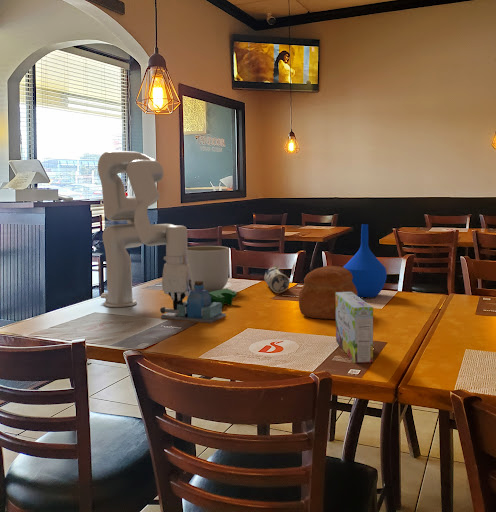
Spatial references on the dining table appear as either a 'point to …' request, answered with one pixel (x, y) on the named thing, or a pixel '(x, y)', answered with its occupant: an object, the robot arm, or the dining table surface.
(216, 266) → the planter
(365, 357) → the snack box
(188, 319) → the vise bed
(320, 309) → the bread
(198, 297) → the perfume bottle
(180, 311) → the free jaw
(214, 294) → the clamp
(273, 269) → the pencil case
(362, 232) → the vase
